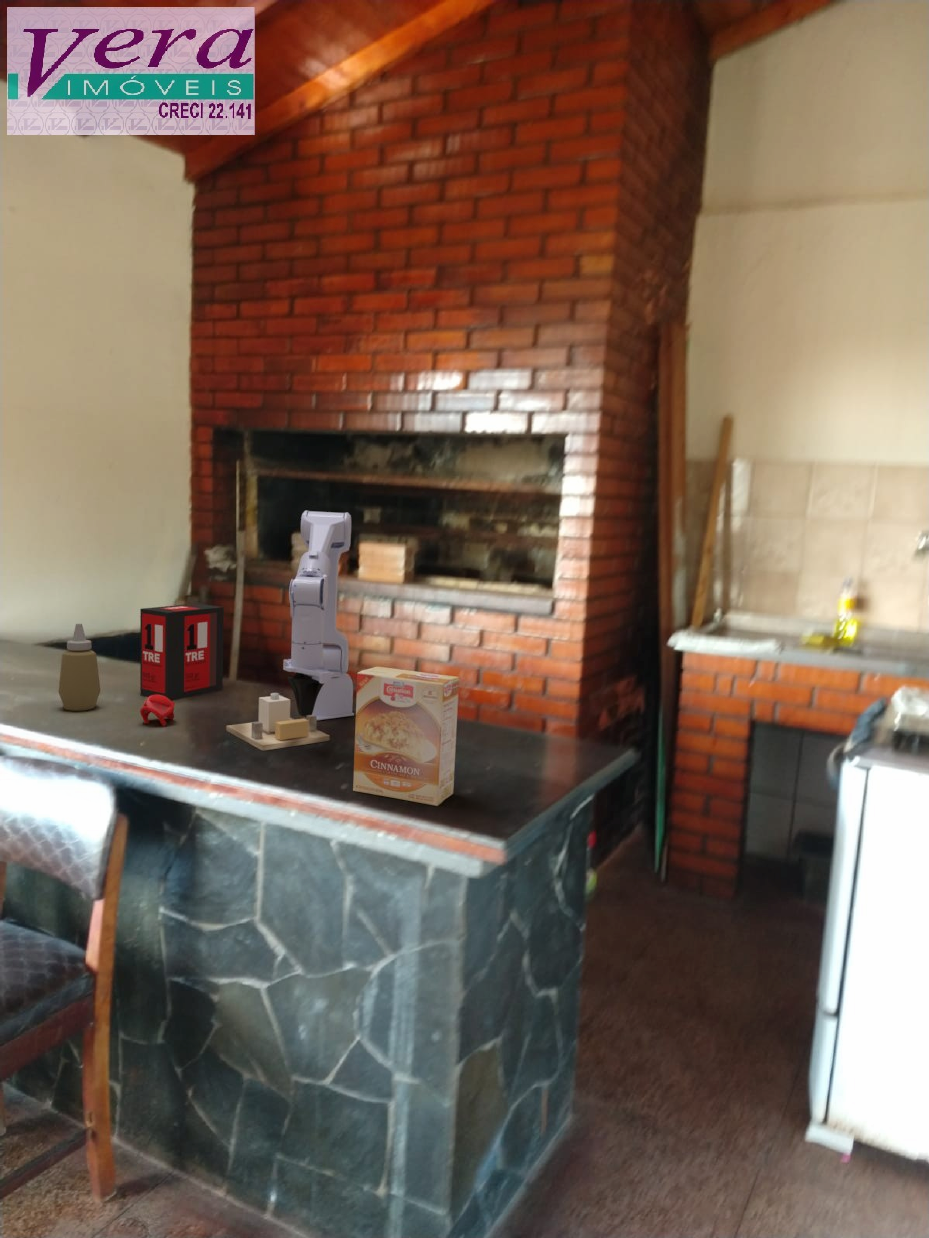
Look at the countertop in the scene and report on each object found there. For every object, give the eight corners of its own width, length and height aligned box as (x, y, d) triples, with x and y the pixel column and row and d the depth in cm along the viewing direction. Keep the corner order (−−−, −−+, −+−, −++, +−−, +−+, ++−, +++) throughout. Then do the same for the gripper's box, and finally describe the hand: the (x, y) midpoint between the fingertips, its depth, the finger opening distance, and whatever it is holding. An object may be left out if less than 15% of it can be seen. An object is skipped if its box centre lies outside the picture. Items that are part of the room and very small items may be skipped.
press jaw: (303, 733, 164) (303, 718, 164) (308, 736, 163) (309, 720, 162) (275, 737, 160) (275, 722, 160) (280, 740, 159) (280, 724, 159)
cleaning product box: (196, 684, 208) (196, 603, 205) (222, 689, 204) (223, 607, 201) (140, 695, 194) (140, 608, 191) (167, 701, 189) (167, 612, 187)
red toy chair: (162, 714, 166) (180, 693, 170) (136, 701, 167) (155, 681, 171) (163, 738, 171) (181, 718, 176) (138, 726, 172) (157, 706, 177)
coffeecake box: (351, 791, 136) (355, 671, 134) (371, 779, 143) (376, 665, 140) (437, 807, 131) (443, 683, 129) (454, 793, 138) (460, 675, 135)
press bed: (290, 722, 177) (290, 703, 176) (329, 740, 165) (329, 720, 164) (226, 730, 168) (226, 710, 168) (262, 750, 156) (263, 729, 155)
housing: (279, 724, 170) (280, 690, 169) (289, 729, 167) (290, 694, 166) (258, 727, 168) (259, 692, 167) (268, 732, 164) (269, 697, 163)
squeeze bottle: (49, 709, 178) (48, 624, 175) (80, 702, 185) (79, 620, 183) (79, 714, 175) (78, 628, 172) (109, 707, 182) (108, 623, 180)
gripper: (269, 637, 158) (267, 708, 160) (307, 649, 147) (305, 725, 149) (303, 635, 163) (301, 704, 164) (342, 647, 152) (340, 721, 153)
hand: (305, 714), depth 157 cm, fingers closed
